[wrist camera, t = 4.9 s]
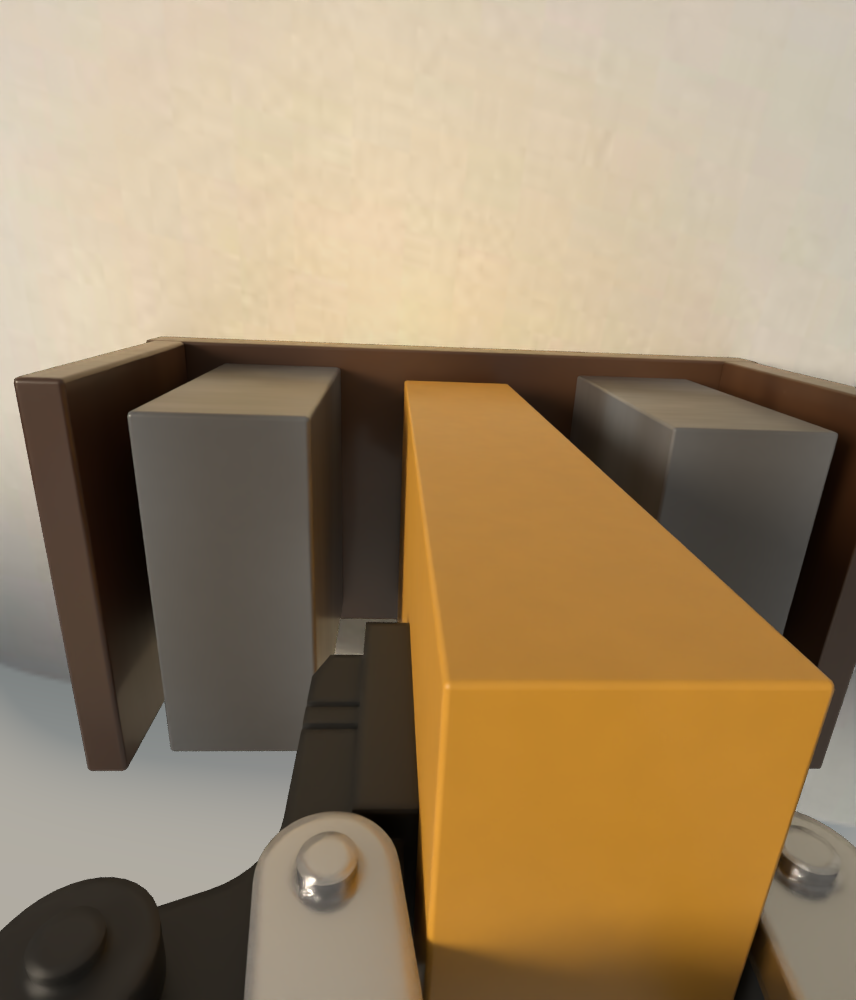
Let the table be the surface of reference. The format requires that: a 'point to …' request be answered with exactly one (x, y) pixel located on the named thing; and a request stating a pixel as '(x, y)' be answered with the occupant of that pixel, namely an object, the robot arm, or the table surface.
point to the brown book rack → (384, 509)
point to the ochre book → (582, 723)
